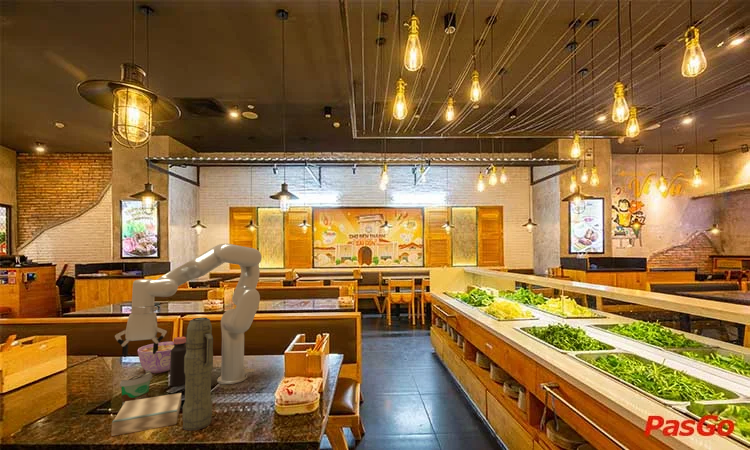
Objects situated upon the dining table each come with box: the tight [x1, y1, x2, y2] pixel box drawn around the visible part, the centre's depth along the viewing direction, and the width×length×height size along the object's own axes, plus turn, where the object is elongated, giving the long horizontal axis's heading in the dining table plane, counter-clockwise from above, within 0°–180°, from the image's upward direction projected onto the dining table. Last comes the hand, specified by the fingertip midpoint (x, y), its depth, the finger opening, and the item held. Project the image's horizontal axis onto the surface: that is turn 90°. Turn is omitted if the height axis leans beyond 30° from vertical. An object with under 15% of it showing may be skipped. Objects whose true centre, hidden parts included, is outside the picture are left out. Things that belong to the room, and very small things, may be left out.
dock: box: [111, 392, 182, 437], centre depth 124 cm, size 18×18×4 cm
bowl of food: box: [136, 341, 174, 374], centre depth 175 cm, size 20×20×12 cm
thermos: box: [181, 317, 214, 431], centre depth 120 cm, size 9×12×35 cm
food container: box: [119, 370, 153, 407], centre depth 138 cm, size 12×6×10 cm, turn 168°
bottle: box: [169, 336, 186, 387], centre depth 157 cm, size 7×7×20 cm
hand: (140, 354), depth 139 cm, fingers open, 9 cm apart
